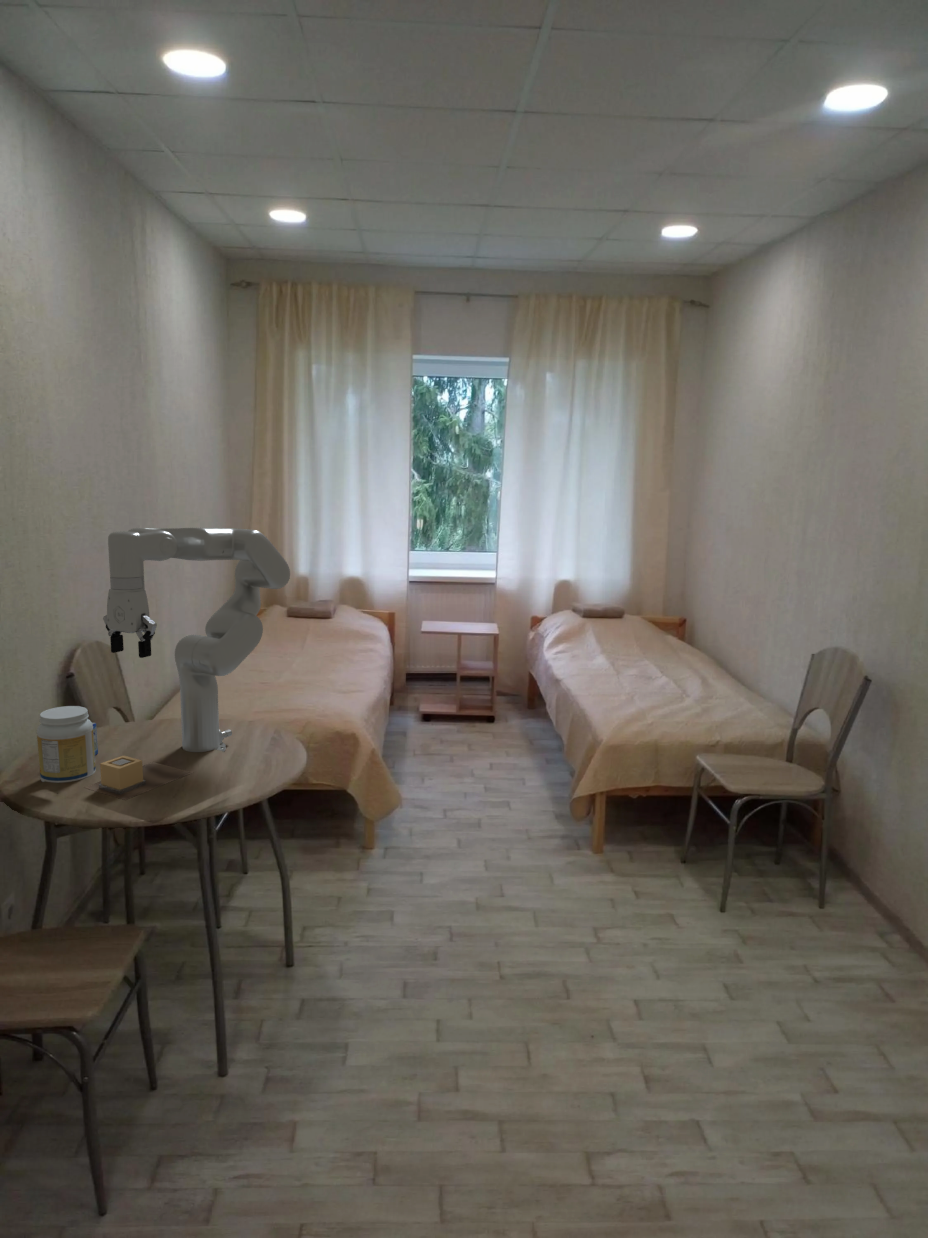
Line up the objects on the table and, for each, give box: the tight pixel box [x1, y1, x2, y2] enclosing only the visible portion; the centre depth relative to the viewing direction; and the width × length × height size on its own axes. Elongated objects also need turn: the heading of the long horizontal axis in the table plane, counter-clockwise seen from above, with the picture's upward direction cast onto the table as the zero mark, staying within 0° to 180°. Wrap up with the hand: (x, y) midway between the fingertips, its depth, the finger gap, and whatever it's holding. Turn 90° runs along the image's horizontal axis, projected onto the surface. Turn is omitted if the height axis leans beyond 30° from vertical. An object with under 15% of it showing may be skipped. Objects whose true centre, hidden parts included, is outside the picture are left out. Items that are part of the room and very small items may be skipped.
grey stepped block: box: [99, 759, 146, 795], centre depth 191 cm, size 7×7×6 cm
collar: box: [99, 755, 144, 790], centre depth 191 cm, size 6×6×5 cm
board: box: [83, 761, 194, 801], centre depth 196 cm, size 20×14×2 cm
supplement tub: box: [36, 705, 97, 784], centre depth 198 cm, size 12×12×17 cm
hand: (131, 654), depth 198 cm, fingers open, 9 cm apart
